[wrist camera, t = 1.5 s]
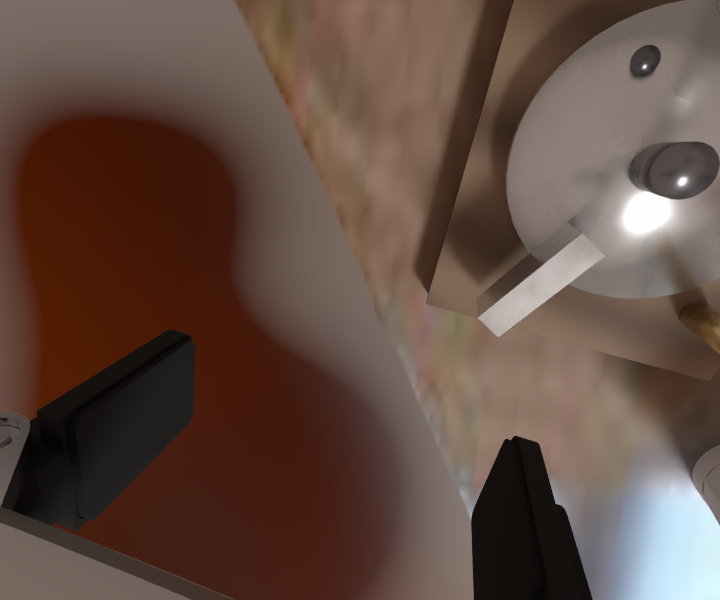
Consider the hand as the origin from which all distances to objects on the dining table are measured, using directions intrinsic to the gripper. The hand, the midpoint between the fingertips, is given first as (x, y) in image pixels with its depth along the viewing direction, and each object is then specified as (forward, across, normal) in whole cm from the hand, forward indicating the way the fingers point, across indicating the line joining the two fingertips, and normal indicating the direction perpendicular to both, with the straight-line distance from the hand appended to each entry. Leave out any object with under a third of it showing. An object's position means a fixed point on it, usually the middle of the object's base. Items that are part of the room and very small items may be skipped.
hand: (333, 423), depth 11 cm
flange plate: (+16, -10, -7) cm, 20 cm away
